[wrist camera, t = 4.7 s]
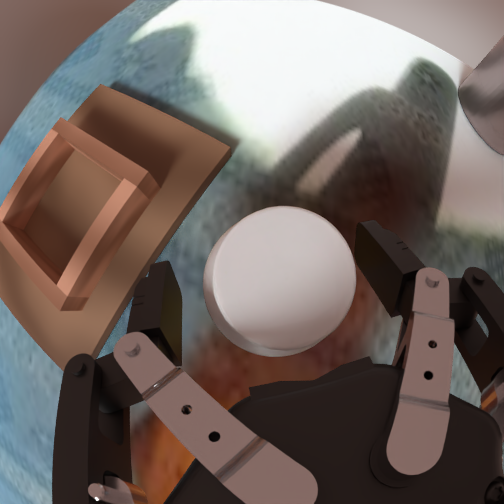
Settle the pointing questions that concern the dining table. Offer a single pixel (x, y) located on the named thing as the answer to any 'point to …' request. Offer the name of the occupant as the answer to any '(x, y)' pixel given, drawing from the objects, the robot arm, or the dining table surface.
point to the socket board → (97, 217)
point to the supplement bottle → (279, 281)
